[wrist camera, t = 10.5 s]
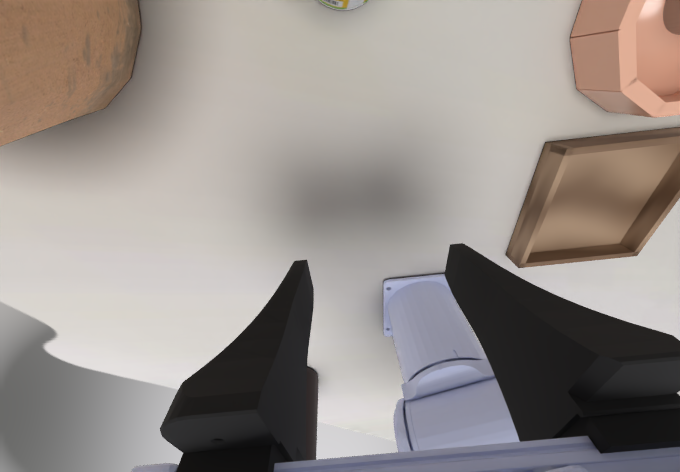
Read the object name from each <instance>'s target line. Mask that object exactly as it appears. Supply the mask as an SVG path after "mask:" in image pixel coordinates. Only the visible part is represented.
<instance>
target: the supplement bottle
mask: <svg viewBox="0 0 680 472" xmlns="http://www.w3.org/2000/svg"><path fill="white" fill-rule="evenodd" d="M318 1H319V2H321V3H322V4H324V5H325V6H327V7H330V8H332V9H336V10H351V9H355V8H357V7H360V6H362V5H363V4H365V3H366V2H367V1H369V0H318Z"/></svg>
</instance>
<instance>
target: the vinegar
mask: <svg viewBox="0 0 680 472" xmlns="http://www.w3.org/2000/svg"><path fill="white" fill-rule="evenodd" d="M317 409H318V375H317V374H316V372H315V371H314V370H312V369H310V368H308V367H307V388H306V461H307V460H316V440H317Z"/></svg>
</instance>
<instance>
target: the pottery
mask: <svg viewBox="0 0 680 472" xmlns="http://www.w3.org/2000/svg"><path fill="white" fill-rule="evenodd" d="M140 31H141V24H140V17H139V9H138V1H137V0H0V146H2V145H5V144H7V143H10V142H13V141H15V140H18V139H21V138H23V137H26V136H28V135H31V134H34V133H36V132H39V131H42V130H44V129H47V128H50V127H52V126H55V125H58V124H60V123H63V122H66V121H68V120H71V119H74V118H77V117H80V116H83V115H86V114H89V113H92V112H95V111H98V110H101V109H104V108H106V106H107V105H108V104H109V103H110V102H111V101H112V99H113V98H114V97H115V96H116V95H117V94H118V92H119V91H120V90H121V89H122V88H123V87H124V85H125V84H126V83H127V82H128V81H129V79H130V78H131V74H132V69H133V64H134V60H135V55H136V50H137V46H138V41H139V36H140Z"/></svg>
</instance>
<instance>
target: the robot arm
mask: <svg viewBox="0 0 680 472" xmlns="http://www.w3.org/2000/svg"><path fill="white" fill-rule="evenodd" d="M387 287H389V288H387ZM455 299H456V301H457V303H458V305H459V306H460V308H461V310H462V312H463V313H464V315H465V317H466V318H467V320H468V322H469V323H470V325H471V327H472V328H473V330H474V332H475V334H476V336H477V338H478V339H479V341H480V343H481V345H480V343H479V342H478V340H477V338H476V336H475V335H474V333H473V331H472V329H471V328H470V326H469V324H468V322H467V320H466V319H465V317H464V315H463V313H462V312H461V310H460V308H459V306H458V305H457V303H456V301H455ZM312 314H313V284H312V280H311V276H310V271H309V267H308V262H307V260H300V261H295V262H294V263H293V264H292V266H291V268H290V270H289V271H288V273H287V275H286V276H285V278H284V280H283V281H282V283H281V284H280V286H279V287H278V289H277V290H276V292H275V293H274V295H273V296H272V298H271V299H270V300H269V302H268V303H267V304H266V306H265V307H264V308H263V309H262V311H261V312H260V313H259V314H258V316H257V317H256V318H255V319H254V320H253V321H252V322H251V324H250V325H249V326H248V327H247V328H246V329H245V330H244V331H243V332H242V333H241V334H240V335H239V336H238V337H237V338H236V339H235V340H234V341H233V342H232V343H231V344H230V345H229V346H227V347H226V348H225V349H224V350H223V351H222V352H221V353H220V354H218V355H217V356H216V357H215V358H214V359H212V360H211V361H210V362H209V363H208V364H206V365H205V366H204V367H202V368H201V369H200V370H199V371H197V372H196V373H195V374H193V375H192V376H191V377H189V378H188V379H187V380H185V381H184V382H183V383H182V385H181V386H180V388H179V390H178V392H177V394H176V396H175V398H174V400H173V402H172V404H171V406H170V409H169V411H168V413H167V415H166V417H165V419H164V422H163V424H162V426H161V428H160V431H161V434H162V436H163V437H164V438H165V439H166V440H167V441H168V442H170V443H171V444H172V445H173V446H175V447H176V448H178V449H179V450H180V451H182V452H183V455H182V458H181V461H180V463H179V465H177V464H170V463H166V464H154V465H143V466H136V467H134V468H133V469H132V471H131V472H680V396H679V395H678V394H677V392H678V391H680V341H679V340H678V339H677V338H675V337H674V336H672V335H669V334H666V333H663V332H659V331H656V330H652V329H649V328H646V327H642V326H639V325H636V324H632V323H629V322H626V321H623V320H620V319H617V318H614V317H611V316H608V315H605V314H602V313H599V312H597V311H594V310H591V309H589V308H586V307H583V306H581V305H578V304H576V303H573V302H571V301H568V300H566V299H563V298H561V297H559V296H557V295H554V294H552V293H550V292H548V291H546V290H544V289H541V288H539V287H537V286H535V285H533V284H531V283H529V282H527V281H525V280H524V279H522V278H520V277H518V276H516V275H514V274H512V273H511V272H509V271H507V270H506V269H504V268H502V267H500V266H499V265H497V264H495V263H494V262H492V261H491V260H489V259H487V258H486V257H484V256H483V255H481V254H479V253H478V252H476V251H475V250H473V249H471V248H470V247H468V246H466V245H465V244H463V243H462V244H452V245H450V248H449V254H448V259H447V264H446V270H445V274H438V275H428V276H419V277H409V278H399V279H389V280H386V281H384V283H383V333H384V335H385V336H393V340H394V344H395V348H396V352H397V356H398V360H399V364H400V369H401V373H402V377H403V380H404V383H405V384H402V385H401V387H402V391H403V395H404V398H402V399H399V400H398V402H397V404H396V409H395V411H394V431H395V438H396V443H397V447H398V453H387V454H376V455H364V456H352V457H341V458H330V459H319V460H307V461H306V388H307V356H308V346H309V338H310V330H311V322H312ZM481 346H482V347H481ZM482 348H483V349H482Z"/></svg>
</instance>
